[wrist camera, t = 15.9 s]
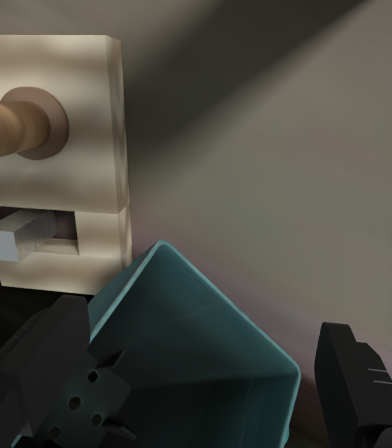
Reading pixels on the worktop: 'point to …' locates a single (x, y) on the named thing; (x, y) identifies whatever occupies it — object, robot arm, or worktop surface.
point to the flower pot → (172, 368)
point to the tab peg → (25, 232)
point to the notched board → (72, 161)
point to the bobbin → (32, 124)
